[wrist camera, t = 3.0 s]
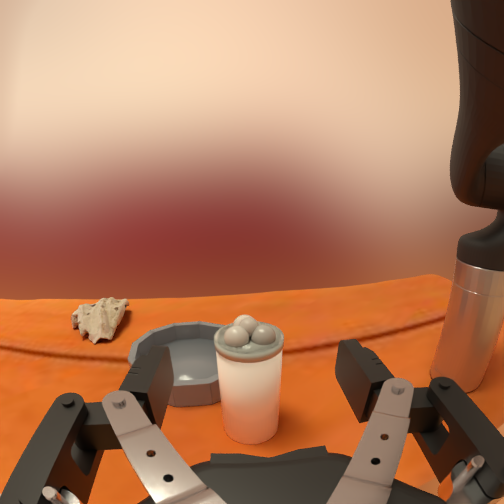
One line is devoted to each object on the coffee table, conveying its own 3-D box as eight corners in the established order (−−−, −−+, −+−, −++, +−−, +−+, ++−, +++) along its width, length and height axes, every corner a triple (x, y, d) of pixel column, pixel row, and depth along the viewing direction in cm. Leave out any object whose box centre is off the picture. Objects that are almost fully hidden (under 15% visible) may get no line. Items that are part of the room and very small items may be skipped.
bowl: (237, 335, 48) (236, 318, 47) (262, 397, 31) (262, 376, 31) (141, 342, 44) (138, 324, 43) (127, 407, 28) (120, 387, 27)
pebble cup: (269, 403, 30) (272, 301, 27) (286, 438, 24) (295, 329, 21) (219, 411, 29) (209, 307, 26) (227, 448, 23) (216, 339, 20)
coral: (109, 345, 42) (103, 318, 41) (61, 336, 43) (54, 312, 42) (142, 312, 57) (139, 290, 56) (98, 308, 58) (94, 288, 57)
